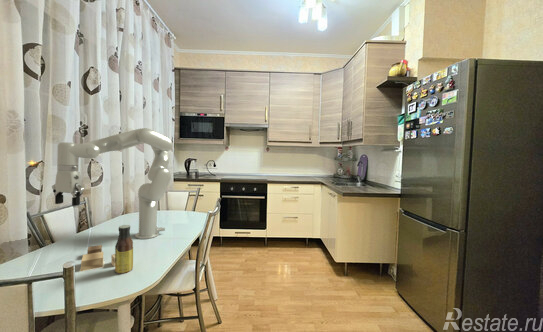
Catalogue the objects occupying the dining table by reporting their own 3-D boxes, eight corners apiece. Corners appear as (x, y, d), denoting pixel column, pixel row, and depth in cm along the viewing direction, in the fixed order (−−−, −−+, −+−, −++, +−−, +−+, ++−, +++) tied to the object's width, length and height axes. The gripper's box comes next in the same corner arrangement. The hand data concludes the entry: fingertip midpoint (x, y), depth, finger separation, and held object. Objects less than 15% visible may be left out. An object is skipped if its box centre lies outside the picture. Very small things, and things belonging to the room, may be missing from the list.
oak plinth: (103, 260, 103) (103, 251, 103) (102, 267, 97) (102, 257, 97) (83, 263, 99) (83, 254, 99) (81, 271, 93) (81, 261, 93)
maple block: (121, 260, 104) (122, 252, 103) (124, 263, 101) (125, 255, 101) (111, 263, 101) (111, 254, 100) (114, 267, 98) (114, 257, 98)
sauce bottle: (120, 269, 98) (121, 223, 97) (135, 269, 99) (136, 223, 98) (111, 277, 92) (112, 228, 91) (127, 277, 92) (128, 228, 91)
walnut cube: (101, 255, 111) (101, 244, 111) (101, 259, 107) (101, 248, 106) (88, 257, 108) (88, 246, 108) (87, 261, 104) (87, 250, 104)
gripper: (90, 169, 111) (90, 204, 112) (61, 167, 114) (61, 201, 115) (74, 170, 104) (74, 207, 104) (44, 167, 107) (43, 204, 108)
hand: (67, 204), depth 110 cm, fingers open, 9 cm apart
